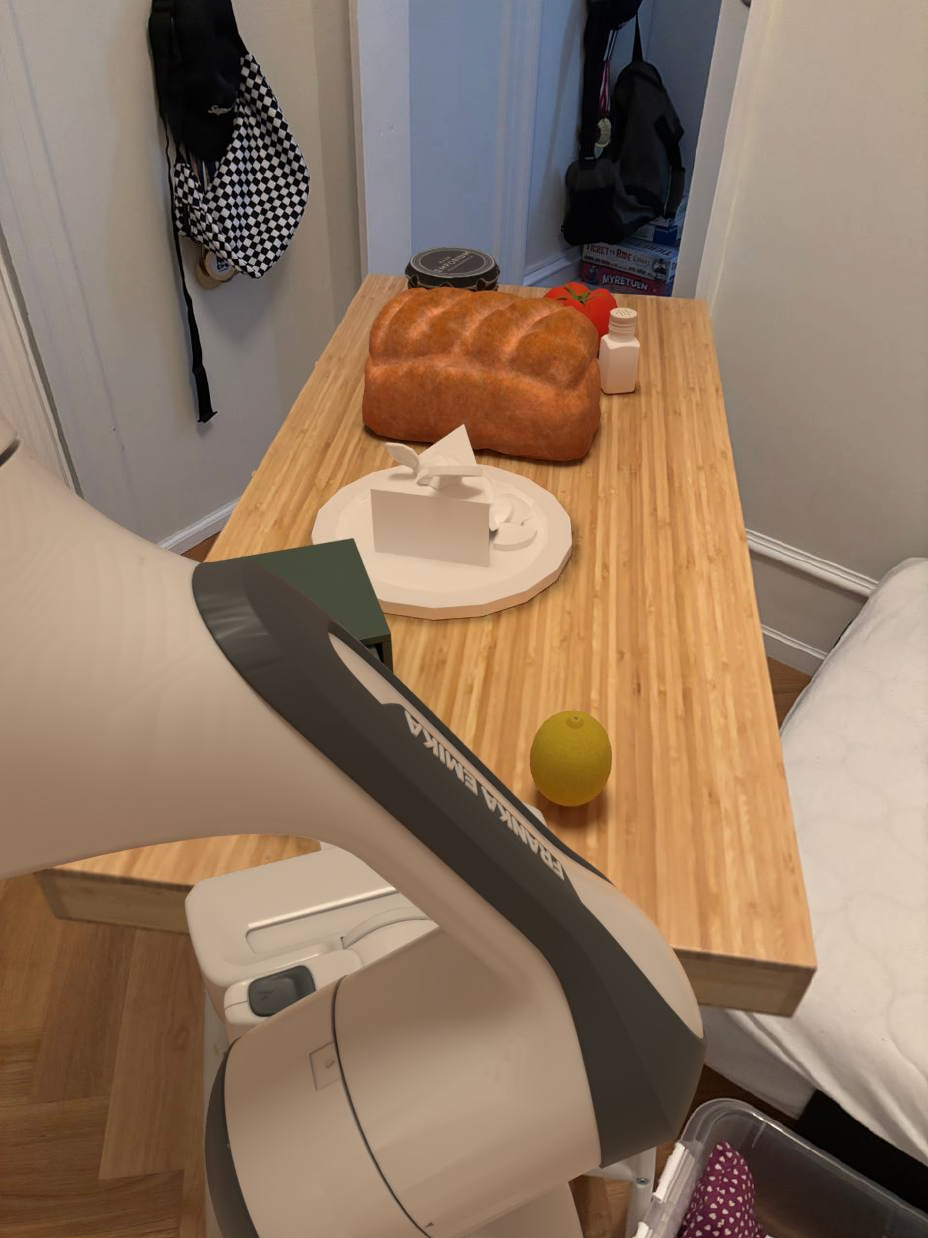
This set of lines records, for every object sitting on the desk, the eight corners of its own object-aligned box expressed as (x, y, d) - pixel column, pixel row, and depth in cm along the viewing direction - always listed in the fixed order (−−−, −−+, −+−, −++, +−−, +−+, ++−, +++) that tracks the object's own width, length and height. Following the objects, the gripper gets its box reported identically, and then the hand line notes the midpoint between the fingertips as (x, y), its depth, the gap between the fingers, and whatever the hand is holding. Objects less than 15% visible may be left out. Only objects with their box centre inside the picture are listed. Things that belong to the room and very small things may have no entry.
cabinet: (396, 722, 72) (391, 633, 66) (246, 755, 69) (227, 665, 63) (360, 622, 81) (353, 537, 75) (226, 648, 78) (208, 562, 72)
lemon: (567, 843, 63) (577, 763, 58) (510, 794, 66) (515, 714, 61) (622, 800, 66) (636, 721, 61) (565, 756, 69) (574, 676, 64)
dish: (551, 637, 79) (560, 526, 72) (273, 596, 83) (256, 487, 76) (586, 488, 98) (596, 387, 91) (357, 460, 102) (350, 362, 95)
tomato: (519, 343, 126) (521, 287, 122) (576, 323, 132) (581, 269, 127) (575, 369, 120) (580, 312, 115) (633, 347, 125) (640, 292, 121)
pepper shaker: (604, 395, 114) (612, 320, 108) (594, 381, 117) (602, 307, 111) (635, 393, 115) (645, 317, 109) (625, 379, 118) (634, 305, 112)
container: (495, 354, 123) (498, 279, 117) (399, 350, 124) (396, 274, 118) (502, 317, 133) (504, 245, 127) (412, 313, 134) (410, 242, 128)
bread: (582, 473, 100) (596, 333, 90) (351, 437, 106) (341, 302, 96) (604, 415, 110) (619, 284, 101) (393, 385, 116) (388, 258, 106)
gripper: (608, 910, 47) (514, 721, 57) (190, 1029, 42) (170, 799, 52) (596, 977, 51) (510, 789, 61) (214, 1092, 46) (190, 867, 56)
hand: (350, 794), depth 57 cm, fingers closed
